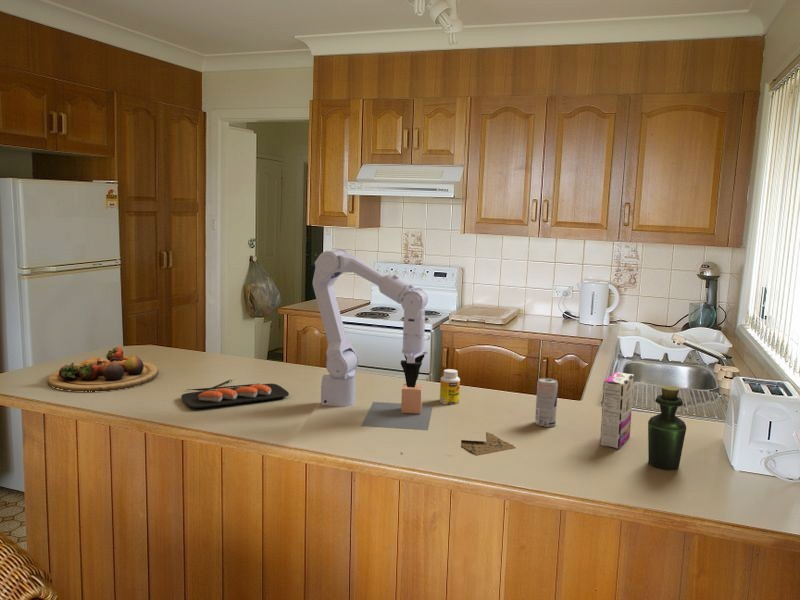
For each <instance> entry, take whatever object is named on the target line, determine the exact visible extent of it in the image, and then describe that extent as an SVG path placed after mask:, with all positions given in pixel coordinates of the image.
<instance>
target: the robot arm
mask: <svg viewBox="0 0 800 600" xmlns="http://www.w3.org/2000/svg"><path fill="white" fill-rule="evenodd" d="M314 267H315V269H314V272H313V273H314V274H313V278H312V288H313V291H314V295H315V298H316V302H317V305H318V310H319V313H320V318H321V321H322V325H323V329H324V332H325V333H324V334H325V337H326V340H327V344H328V345H327V349H326V352H325V354H326V366H325V367H326V370H327V372H328V374H323V376H322V378H321V385H320V405H321V406H333V407H340V408H341V407H342V408H343V407H344V408H346V407H350V406H351V407H352V406H354V405H356V377H357V376H356V369H357V367H358V366H359V363H360V359H359V355H358V353H357V352H356V351H355V349H354V347H353V344H352V343H351V342H350V341H349V340H348V338H347V335H346V330H345V327H344V323H343V320H342V315H341V311H340V308H339V304H338V300H337V296H336V292H335V289H334V284H335V282H336V281H337V280H338V278H339V277H340V276H341V275H342V274H343V273H353V274H355V275H357V276H359V277H361V278H362V279H365V280H367V281H368V282H371V283H372V284H374V285H376V286H378V290H379V292H380V293H381V294H382V295H384V296H386V297H387V298H388V299H391V300H392V301H393V302H396V303H397V304H399V305H401V308H402V309H403V325H402V326H403V328H402V329H403V331H402V332H403V333H402V349H401V353H402V355H404V359H405V360H401V361H400V365H401V367H402V370H403V373H404V378H405V384H406V385H407V387H415V385H416V384H417V380H418V378H419V374H420V370H421V366H422V364H423V360H424V358H425V357H426V356H425V355H428V354H429V350H427V349H425V330H426V329H425V326H426V325H425V324H426V323H425V322H426V318H425V317H426V314H425V313H426V308H425V307H426V306H427V305H428V302H429V301H428V295H427V293H426V292H425V291H424V290H423V289H422V288H421V287H420V288H419V287H416V288H415V286H414V285H413V284H409V283H406V282H405V281H403V280H401V279H400V276H399V275H397V274H391V273H390V274H387V275H385V274H383V273H381V272H380V271H379V270H377V269H376V268H374V267H372V266H371V265H369V264H368V263H366V262H365V261H363V260H362V259H360V257H359V258H358V257H357V256H356V255H354V254H352V253H349V252H347V251H346V250H344V249H340V248H339V249H335V250H326V251H323V252H321V253H320V254H319V255H318V257H317V258H316V260H315V261H314Z"/></svg>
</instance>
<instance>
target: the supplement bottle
mask: <svg viewBox="0 0 800 600" xmlns="http://www.w3.org/2000/svg"><path fill="white" fill-rule="evenodd" d="M460 386H461V378H460V377H459V376H458V370H456V369H451V368H447V369H446V368H445V369H444V370H443V375H442V376H441V377H440V386H439V388H440V389H439V390H440V391H439V403H440V404H442V405H446V406H447V405H449V406H452V405H453V406H454V405H455V406H456V405H457V404H459V403H460V388H461V387H460Z"/></svg>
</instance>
